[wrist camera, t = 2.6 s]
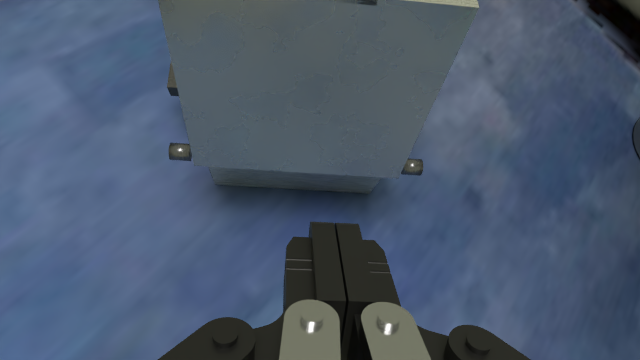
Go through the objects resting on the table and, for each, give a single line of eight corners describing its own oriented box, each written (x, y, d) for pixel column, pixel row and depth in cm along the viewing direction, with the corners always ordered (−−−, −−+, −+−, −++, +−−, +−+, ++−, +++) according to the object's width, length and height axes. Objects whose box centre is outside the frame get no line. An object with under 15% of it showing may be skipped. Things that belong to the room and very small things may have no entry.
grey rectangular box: (406, 202, 48) (439, 173, 39) (174, 188, 46) (150, 155, 36) (402, 63, 53) (430, 9, 44) (193, 45, 51) (176, -16, 41)
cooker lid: (397, 166, 39) (398, 178, 38) (196, 153, 38) (194, 165, 37) (503, -70, 22) (509, -56, 21) (142, -112, 20) (136, -99, 20)
